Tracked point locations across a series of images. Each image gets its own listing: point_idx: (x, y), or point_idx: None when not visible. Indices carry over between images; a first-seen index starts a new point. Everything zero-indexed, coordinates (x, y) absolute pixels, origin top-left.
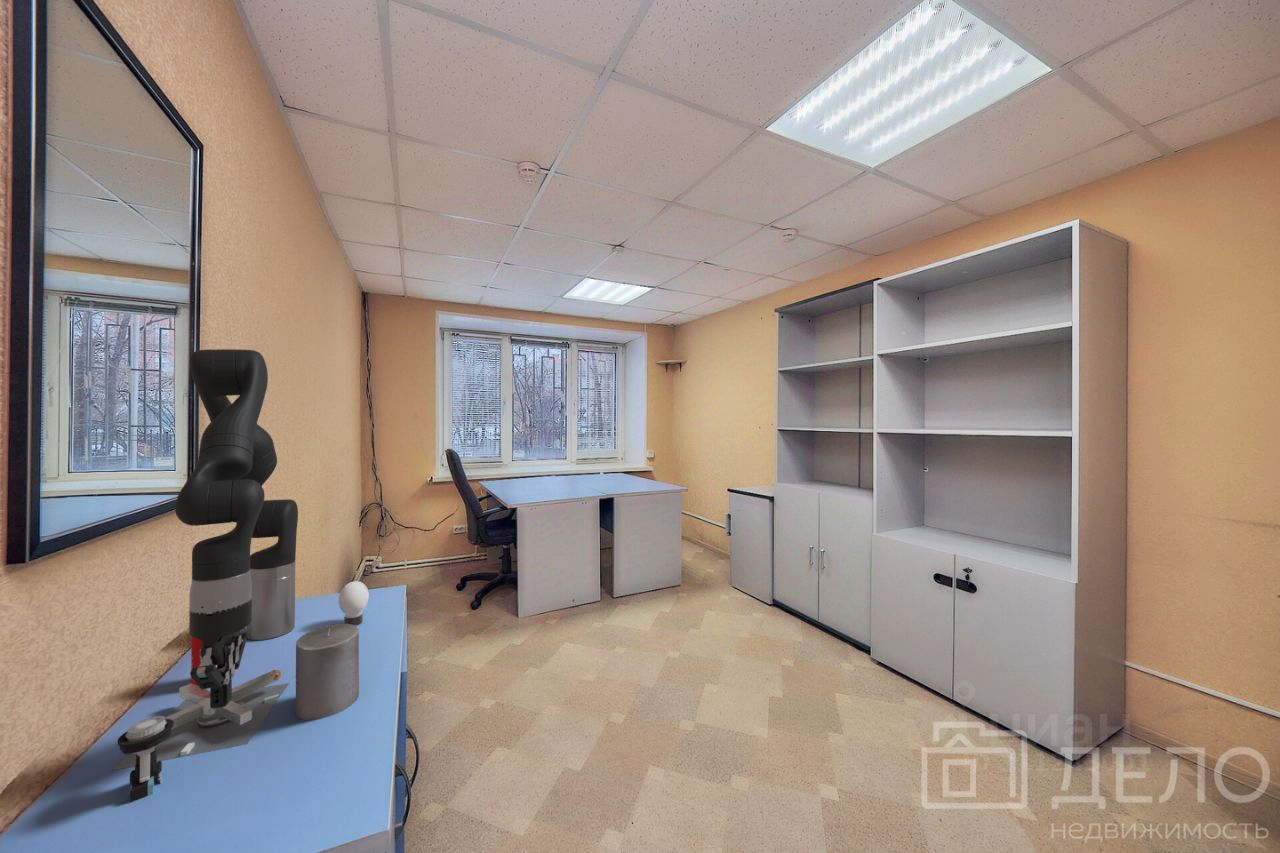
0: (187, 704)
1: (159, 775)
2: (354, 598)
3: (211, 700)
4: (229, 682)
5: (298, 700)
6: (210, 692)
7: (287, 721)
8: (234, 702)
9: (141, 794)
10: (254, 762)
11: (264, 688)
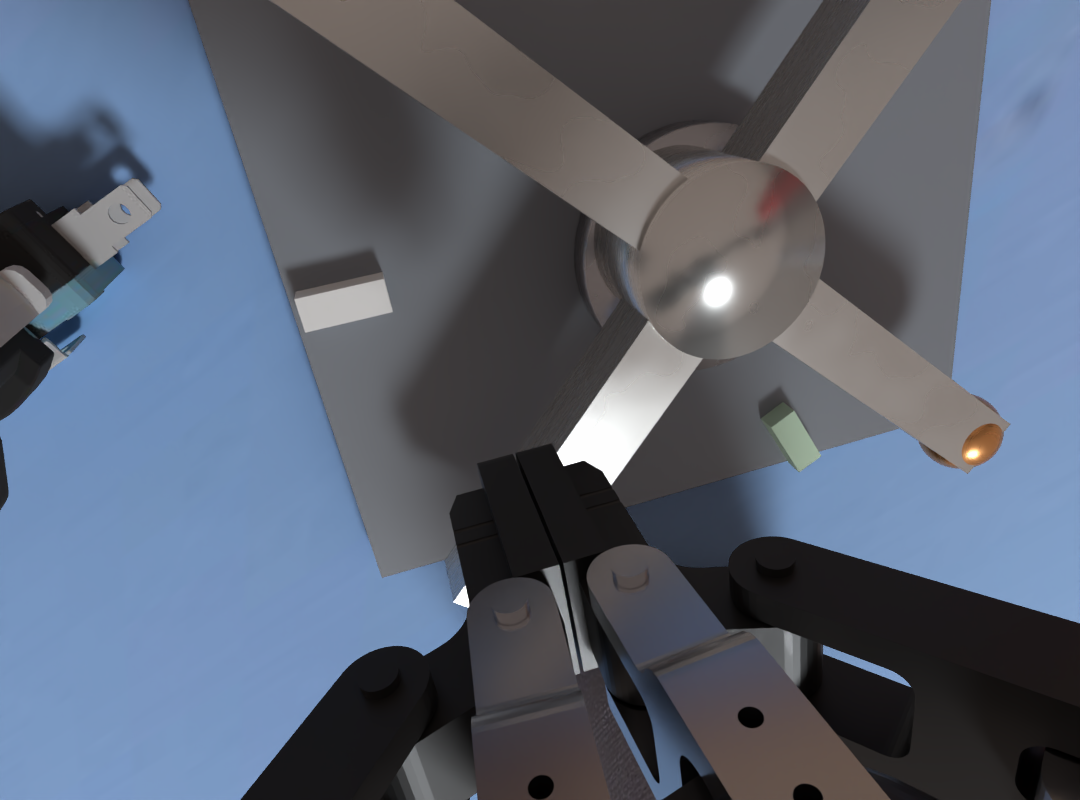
0: None
1: (56, 352)
2: None
3: (454, 536)
4: (578, 665)
5: (610, 733)
6: (502, 537)
7: None
8: (629, 457)
9: None
10: (280, 648)
11: (940, 306)
